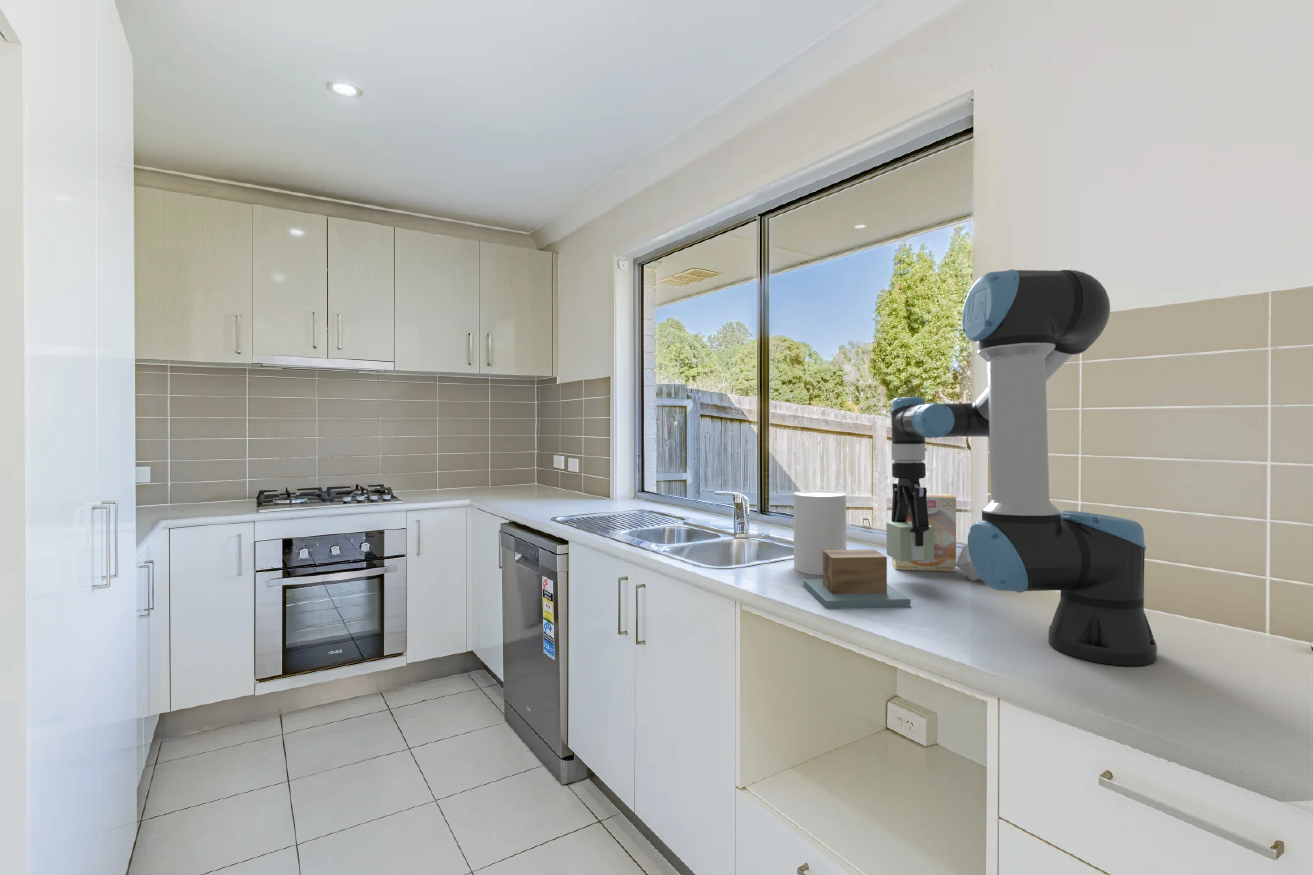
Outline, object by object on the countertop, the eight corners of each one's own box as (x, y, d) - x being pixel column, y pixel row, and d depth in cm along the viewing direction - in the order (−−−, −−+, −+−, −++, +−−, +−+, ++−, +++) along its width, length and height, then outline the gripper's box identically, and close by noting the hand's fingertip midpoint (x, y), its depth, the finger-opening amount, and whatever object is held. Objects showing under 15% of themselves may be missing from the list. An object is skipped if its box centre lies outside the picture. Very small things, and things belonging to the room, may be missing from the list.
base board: (910, 606, 134) (910, 599, 134) (826, 608, 134) (826, 600, 134) (877, 584, 152) (877, 577, 152) (803, 585, 152) (803, 579, 152)
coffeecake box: (895, 570, 166) (894, 495, 166) (891, 563, 173) (891, 492, 173) (956, 572, 163) (956, 496, 162) (950, 565, 170) (950, 493, 169)
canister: (836, 561, 176) (835, 490, 176) (854, 573, 163) (853, 496, 162) (788, 563, 175) (787, 491, 175) (802, 575, 162) (801, 497, 161)
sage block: (934, 560, 149) (933, 526, 149) (900, 561, 149) (900, 527, 149) (918, 554, 157) (918, 521, 157) (886, 554, 157) (886, 522, 157)
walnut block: (886, 593, 139) (886, 556, 139) (832, 593, 139) (831, 557, 139) (874, 583, 147) (874, 549, 147) (822, 584, 147) (822, 550, 147)
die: (1000, 587, 150) (1010, 550, 154) (966, 569, 150) (977, 532, 154) (976, 591, 158) (986, 556, 162) (945, 574, 158) (956, 539, 162)
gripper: (945, 463, 143) (946, 564, 143) (905, 459, 163) (906, 547, 164) (912, 463, 142) (913, 565, 143) (876, 460, 163) (877, 548, 163)
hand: (909, 555), depth 153 cm, fingers closed on sage block, 8 cm apart
